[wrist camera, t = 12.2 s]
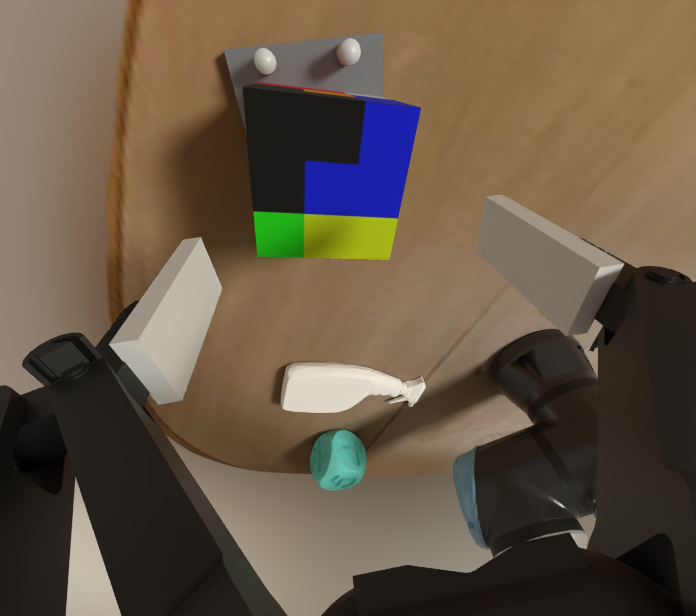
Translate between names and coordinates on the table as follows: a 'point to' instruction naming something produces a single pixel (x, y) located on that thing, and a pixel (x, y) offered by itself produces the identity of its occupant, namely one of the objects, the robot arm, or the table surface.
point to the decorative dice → (338, 460)
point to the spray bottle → (340, 387)
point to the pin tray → (311, 65)
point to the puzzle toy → (326, 170)
